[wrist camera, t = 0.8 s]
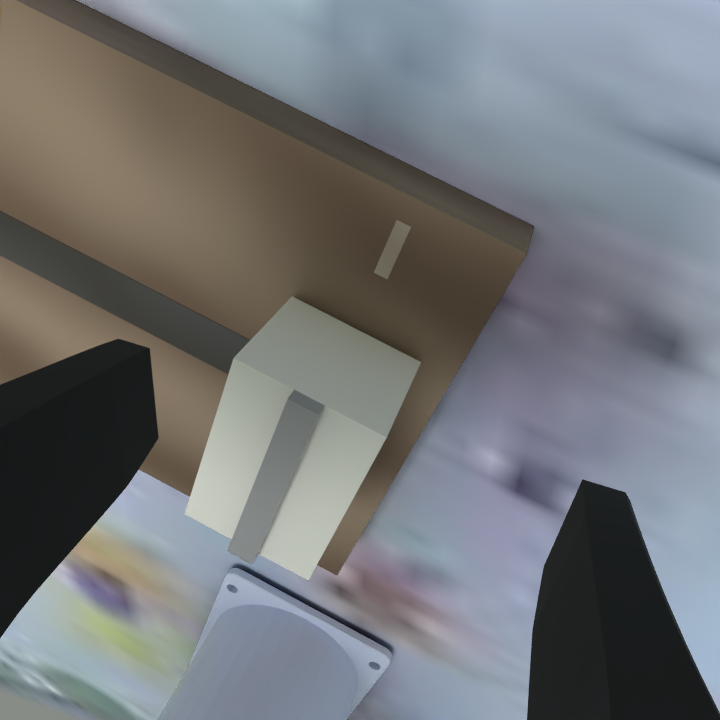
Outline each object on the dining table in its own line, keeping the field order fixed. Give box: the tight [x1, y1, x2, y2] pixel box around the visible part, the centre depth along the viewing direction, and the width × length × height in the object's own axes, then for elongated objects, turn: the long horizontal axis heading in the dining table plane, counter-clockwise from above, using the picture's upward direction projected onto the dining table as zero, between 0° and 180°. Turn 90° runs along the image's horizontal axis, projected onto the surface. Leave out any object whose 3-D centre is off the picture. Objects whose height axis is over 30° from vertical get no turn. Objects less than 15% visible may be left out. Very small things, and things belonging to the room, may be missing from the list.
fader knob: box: [185, 296, 421, 580], centre depth 18 cm, size 6×4×4 cm, turn 159°
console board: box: [0, 0, 534, 575], centre depth 21 cm, size 14×22×2 cm, turn 69°
